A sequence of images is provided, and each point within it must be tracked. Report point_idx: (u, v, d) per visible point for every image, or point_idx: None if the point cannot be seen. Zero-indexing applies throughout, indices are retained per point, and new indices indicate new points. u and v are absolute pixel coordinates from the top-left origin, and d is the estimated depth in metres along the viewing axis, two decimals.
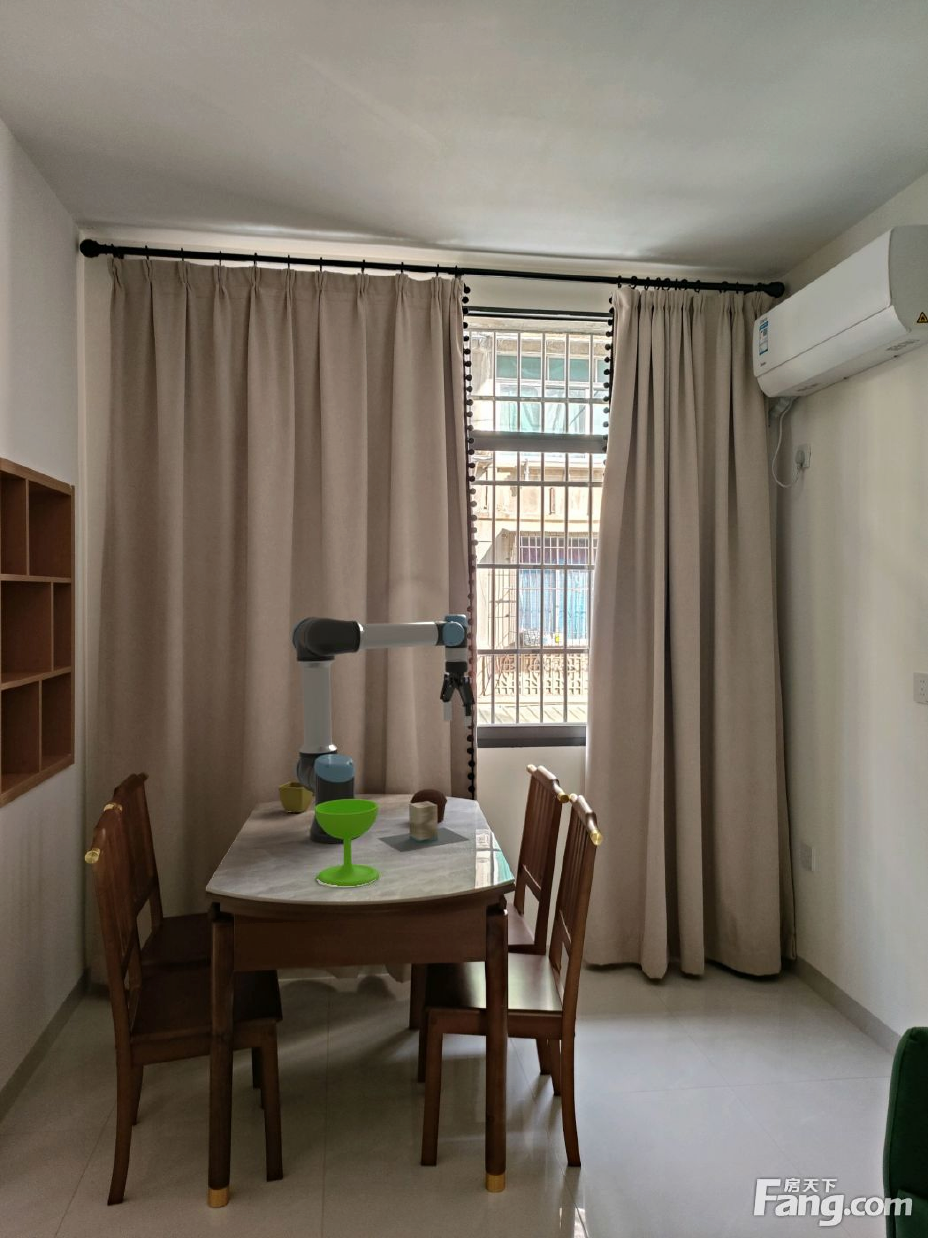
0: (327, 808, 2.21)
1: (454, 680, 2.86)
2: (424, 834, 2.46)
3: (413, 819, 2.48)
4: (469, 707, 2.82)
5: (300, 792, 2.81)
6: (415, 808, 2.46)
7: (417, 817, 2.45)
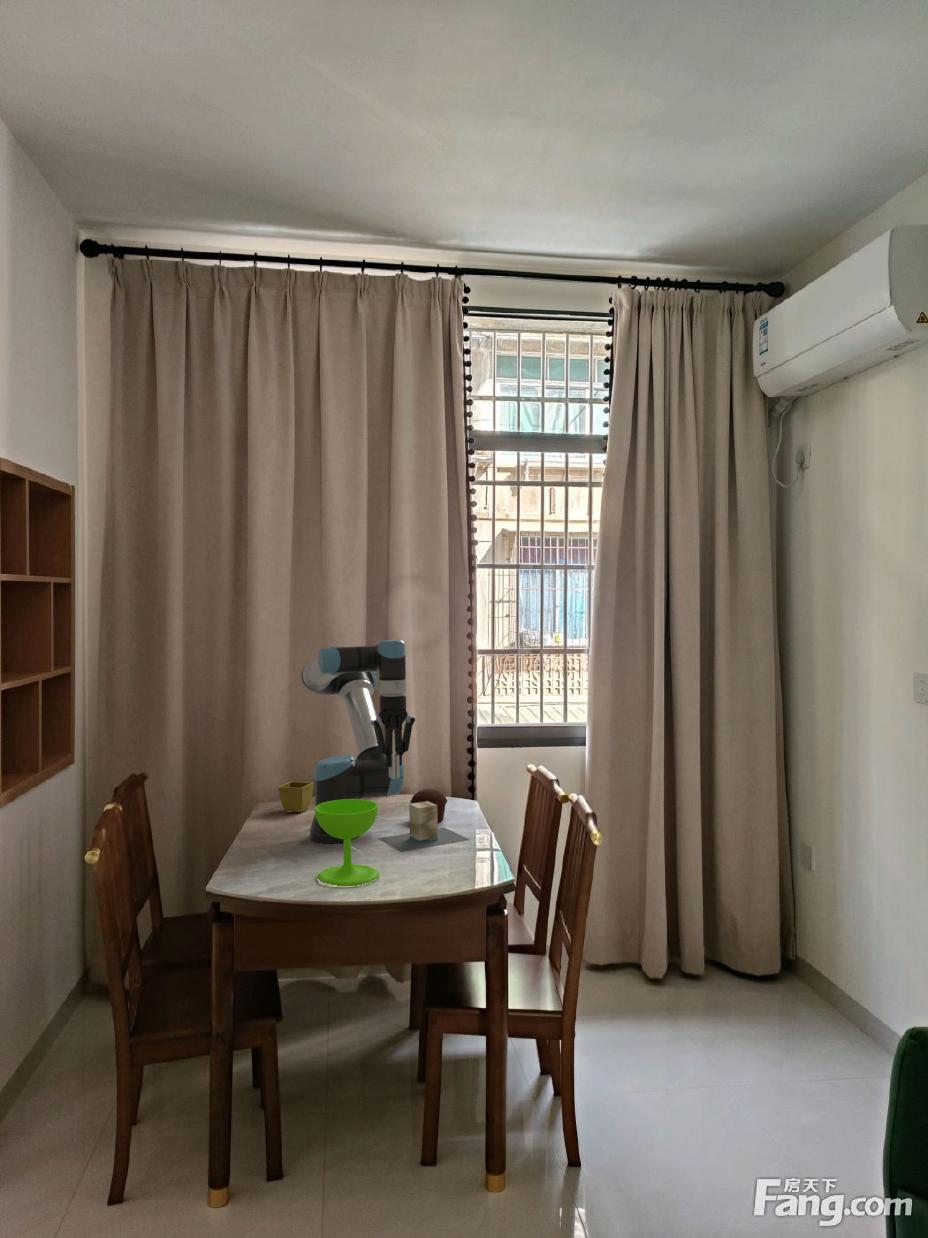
0: (327, 808, 2.21)
1: None
2: (424, 834, 2.46)
3: (413, 819, 2.48)
4: (386, 756, 2.43)
5: (300, 792, 2.81)
6: (415, 808, 2.46)
7: (417, 817, 2.45)
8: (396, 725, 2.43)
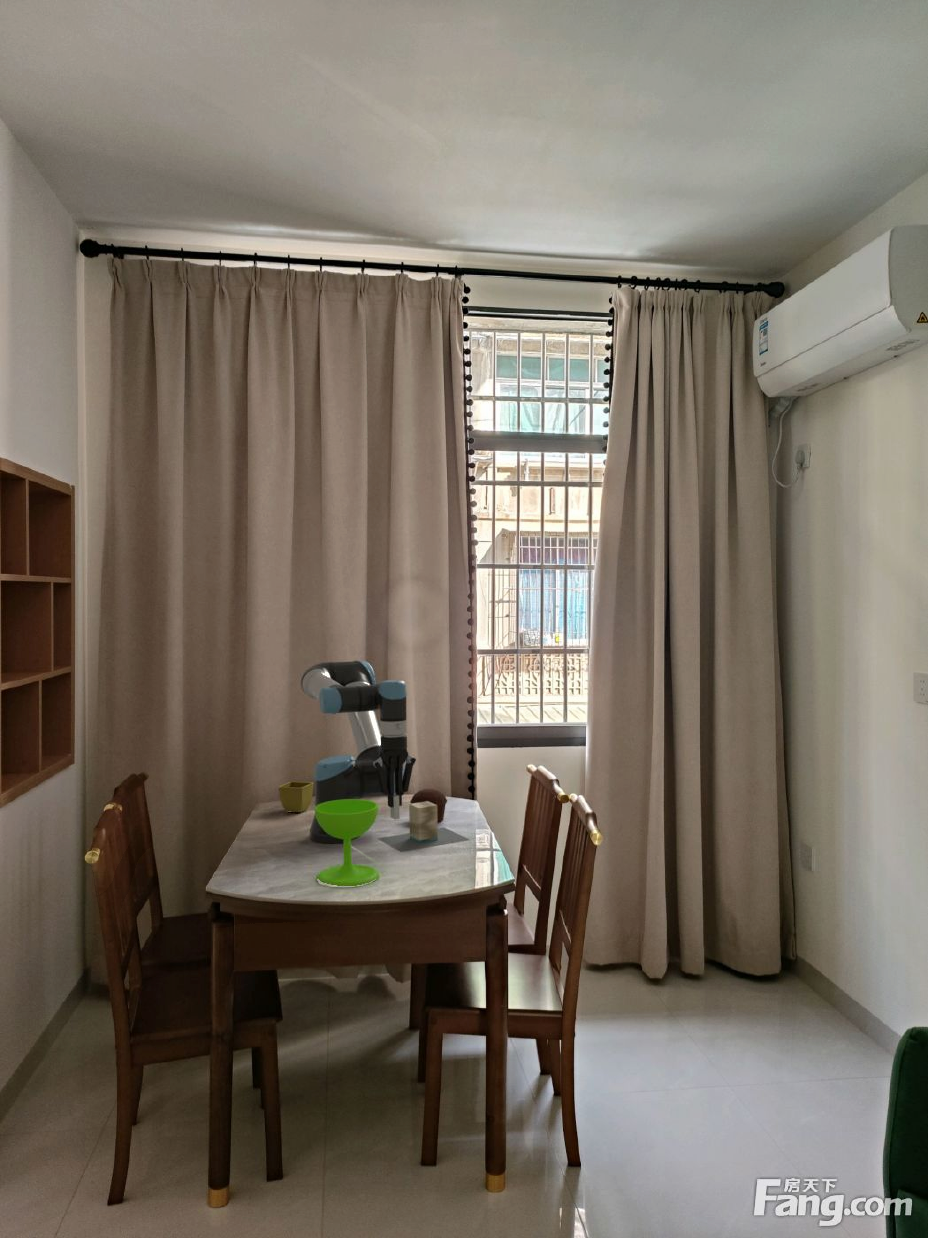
0: (327, 808, 2.21)
1: None
2: (424, 834, 2.46)
3: (413, 819, 2.48)
4: (388, 797, 2.43)
5: (300, 792, 2.81)
6: (415, 808, 2.46)
7: (417, 817, 2.45)
8: (397, 765, 2.43)
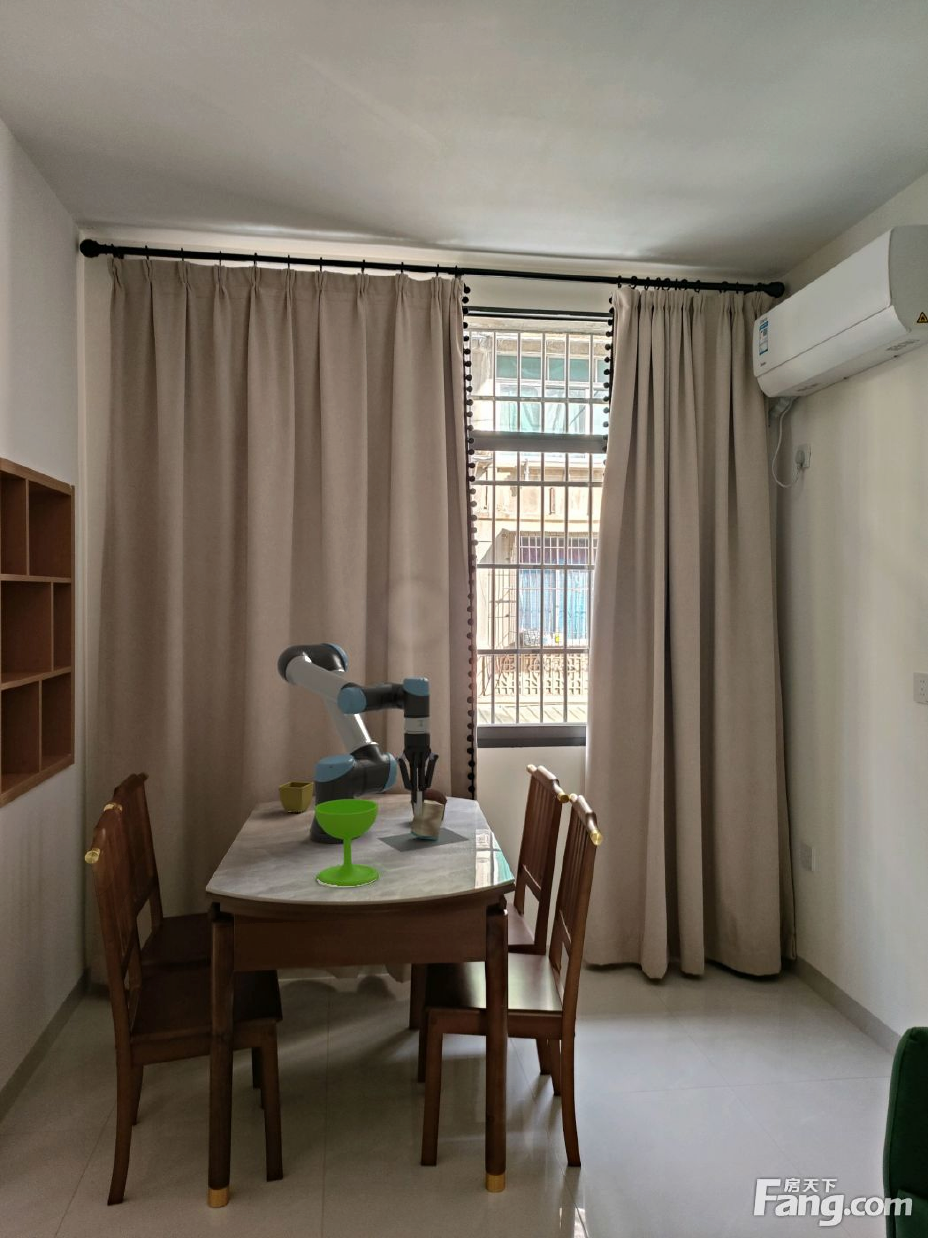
0: (327, 808, 2.21)
1: None
2: (426, 830, 2.46)
3: None
4: (412, 792, 2.46)
5: (300, 792, 2.81)
6: (423, 803, 2.47)
7: (423, 812, 2.46)
8: (420, 762, 2.46)
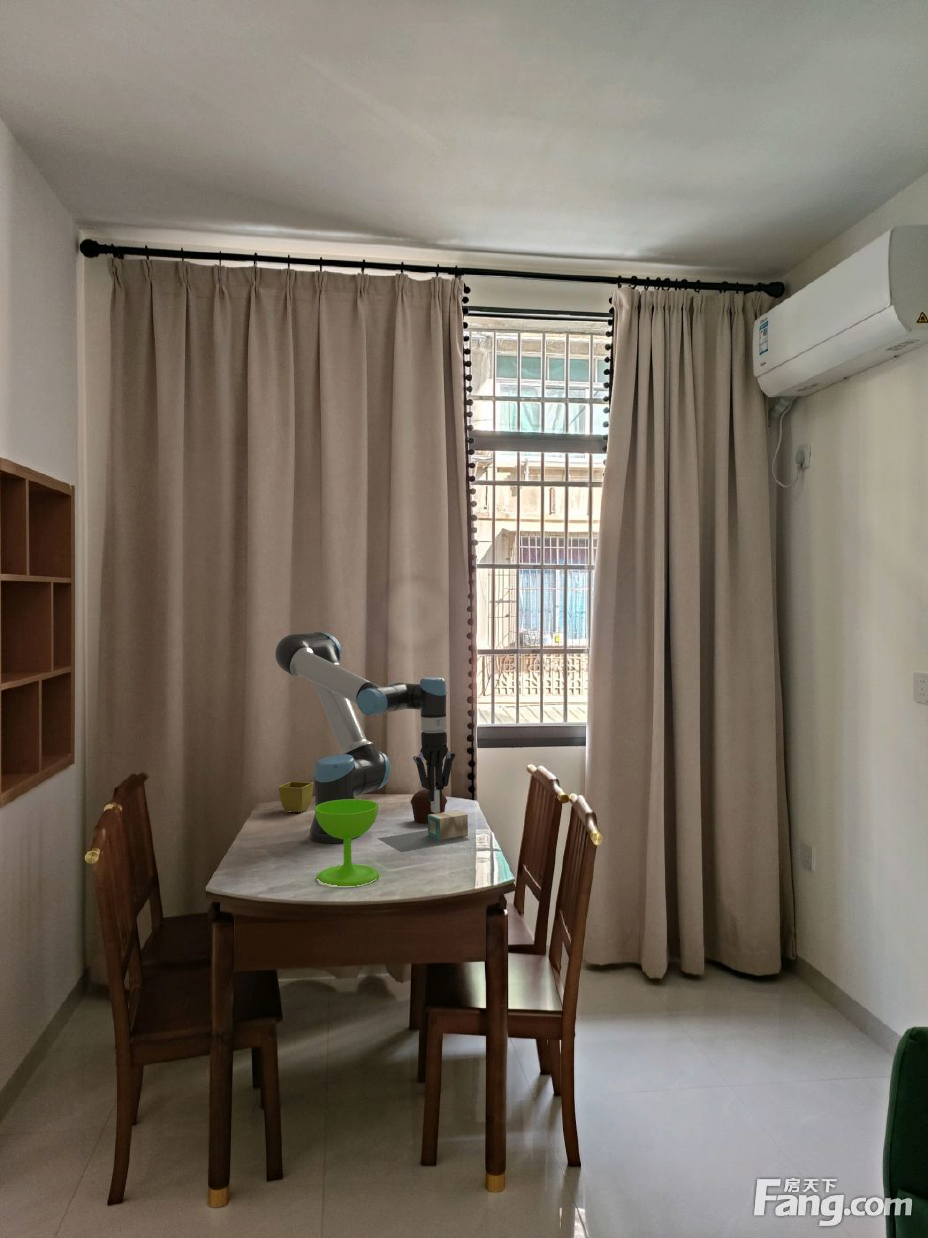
0: (327, 808, 2.21)
1: None
2: (444, 824, 2.49)
3: (449, 813, 2.54)
4: (429, 791, 2.49)
5: (300, 792, 2.81)
6: (463, 813, 2.54)
7: (457, 815, 2.52)
8: (437, 760, 2.49)
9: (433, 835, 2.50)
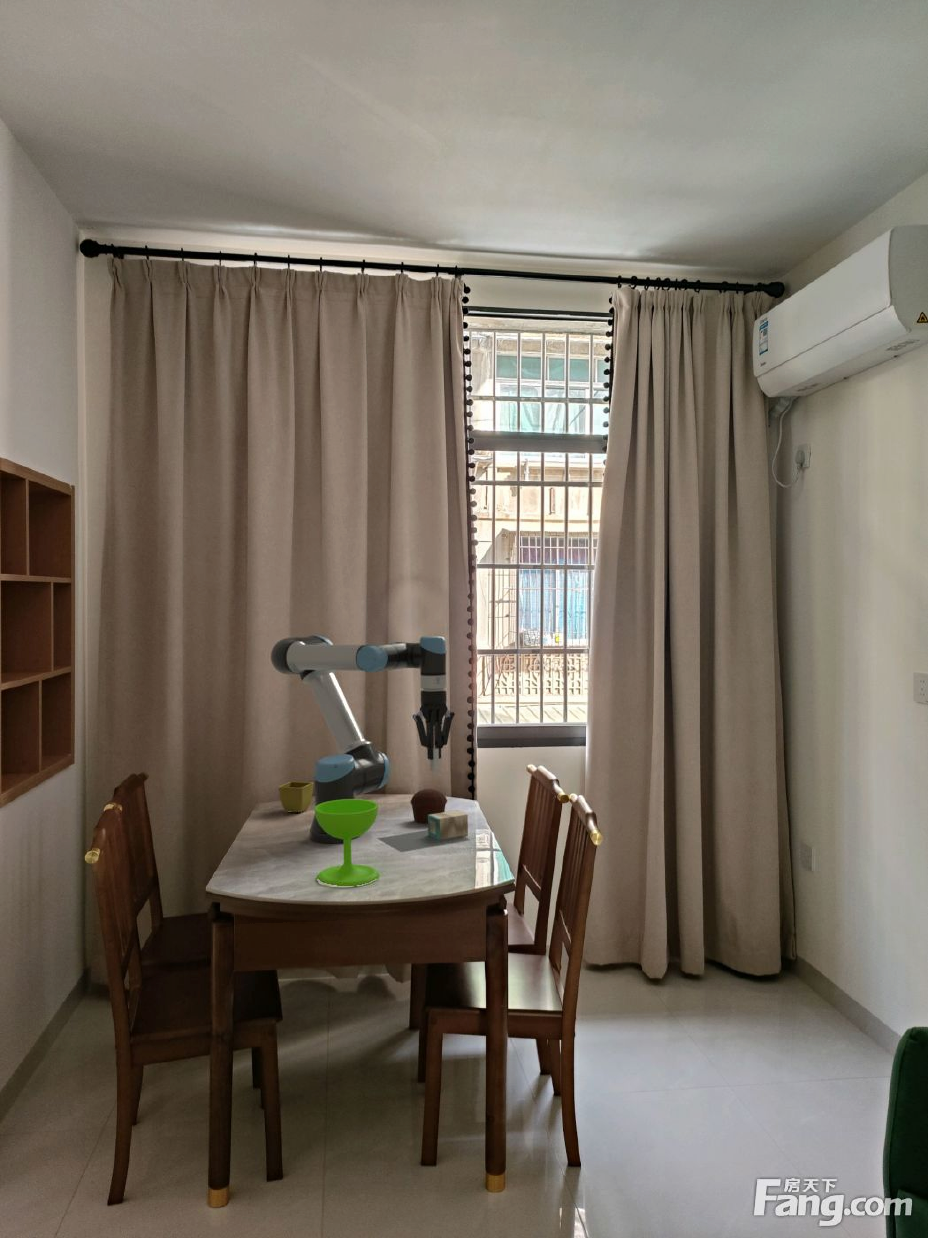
0: (327, 808, 2.21)
1: None
2: (444, 824, 2.49)
3: (449, 813, 2.54)
4: (428, 749, 2.49)
5: (300, 792, 2.81)
6: (463, 813, 2.54)
7: (457, 815, 2.52)
8: (436, 719, 2.49)
9: (433, 835, 2.50)
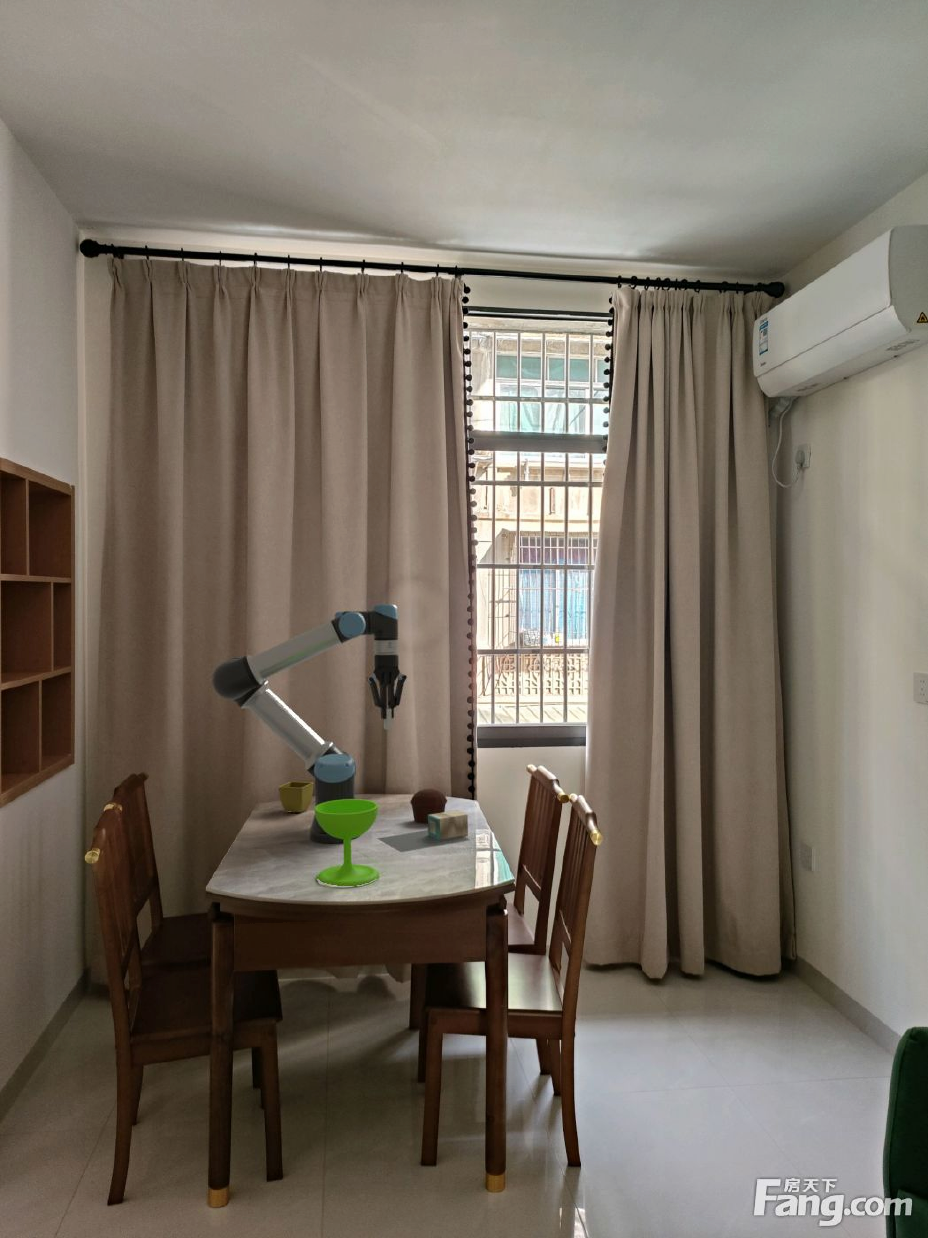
0: (327, 808, 2.21)
1: None
2: (444, 824, 2.49)
3: (449, 813, 2.54)
4: (381, 709, 2.68)
5: (300, 792, 2.81)
6: (463, 813, 2.54)
7: (457, 815, 2.52)
8: (389, 681, 2.68)
9: (433, 835, 2.50)
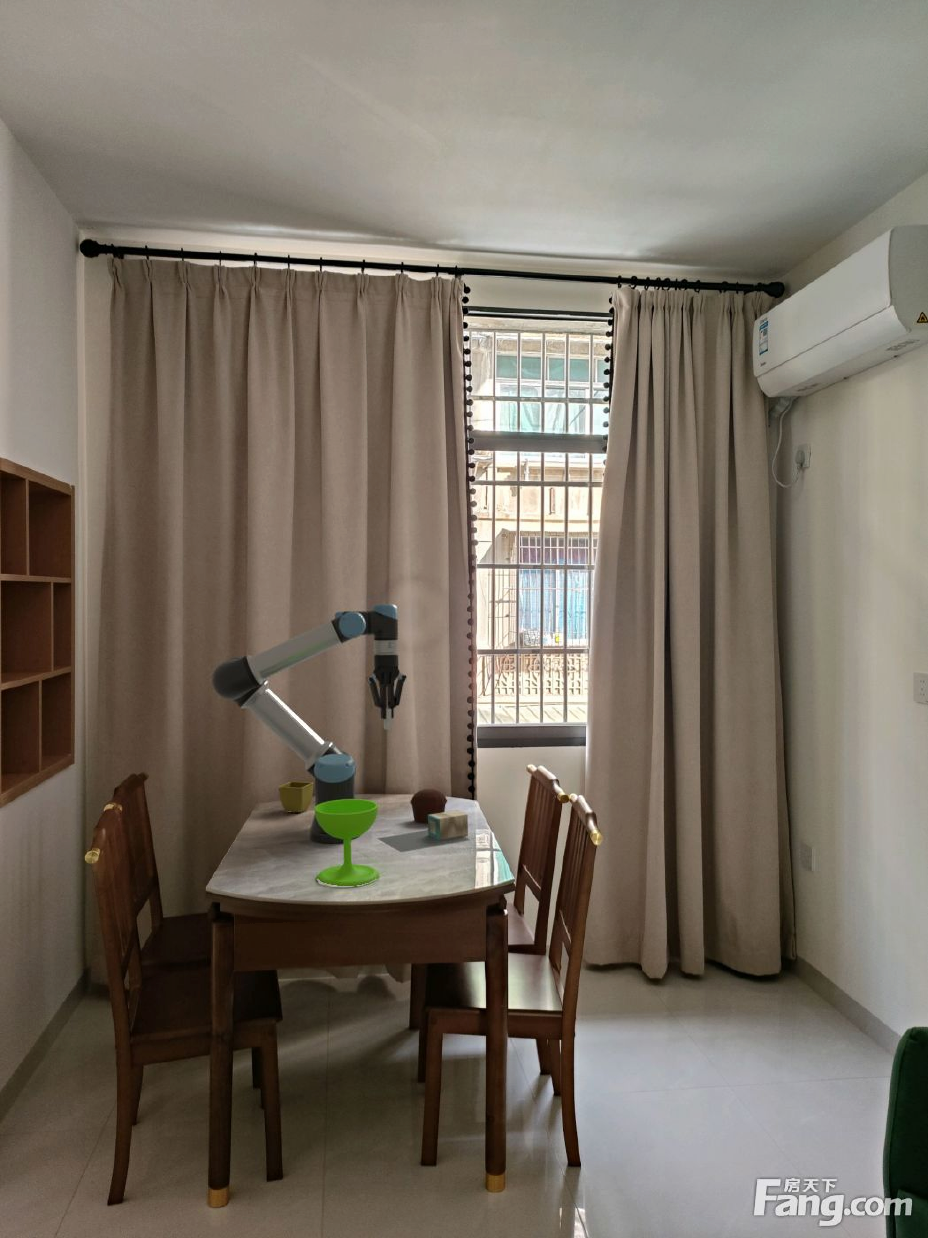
0: (327, 808, 2.21)
1: None
2: (444, 824, 2.49)
3: (449, 813, 2.54)
4: (381, 709, 2.68)
5: (300, 792, 2.81)
6: (463, 813, 2.54)
7: (457, 815, 2.52)
8: (389, 681, 2.68)
9: (433, 835, 2.50)
